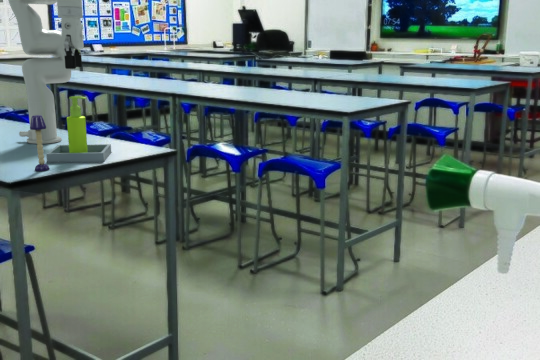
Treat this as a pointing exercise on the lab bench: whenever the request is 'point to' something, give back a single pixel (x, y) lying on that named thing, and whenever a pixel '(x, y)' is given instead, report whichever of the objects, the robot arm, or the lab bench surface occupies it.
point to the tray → (79, 154)
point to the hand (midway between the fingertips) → (73, 67)
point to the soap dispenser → (76, 128)
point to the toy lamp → (39, 140)
